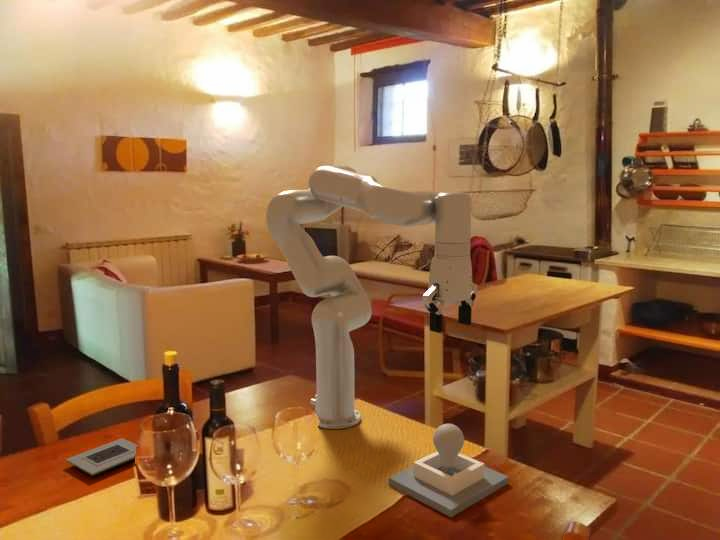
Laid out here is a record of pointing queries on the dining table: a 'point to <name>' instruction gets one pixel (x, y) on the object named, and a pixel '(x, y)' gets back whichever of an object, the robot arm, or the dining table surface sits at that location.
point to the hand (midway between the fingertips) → (450, 327)
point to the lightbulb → (448, 446)
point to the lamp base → (448, 483)
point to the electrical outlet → (104, 457)
